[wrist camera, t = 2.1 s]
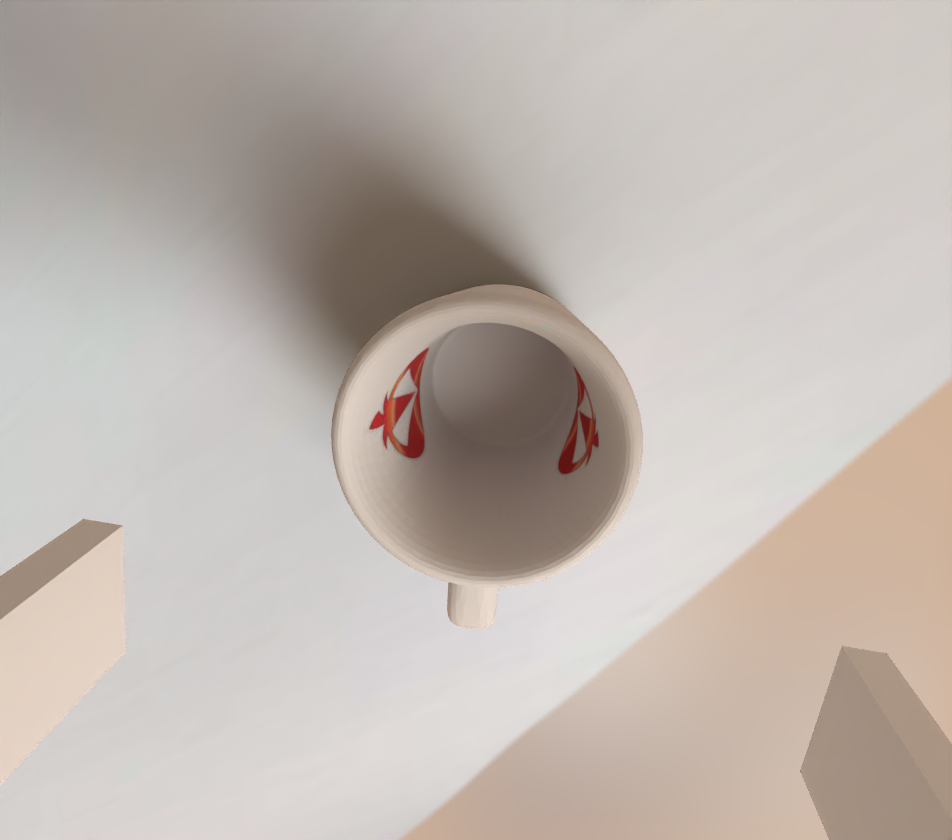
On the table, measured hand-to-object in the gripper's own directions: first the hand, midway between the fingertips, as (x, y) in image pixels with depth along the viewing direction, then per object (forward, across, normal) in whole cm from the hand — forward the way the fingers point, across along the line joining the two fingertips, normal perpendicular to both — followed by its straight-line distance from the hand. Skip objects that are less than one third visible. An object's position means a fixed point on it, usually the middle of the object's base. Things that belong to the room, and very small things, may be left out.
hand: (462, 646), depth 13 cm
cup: (+14, 0, 0) cm, 14 cm away
